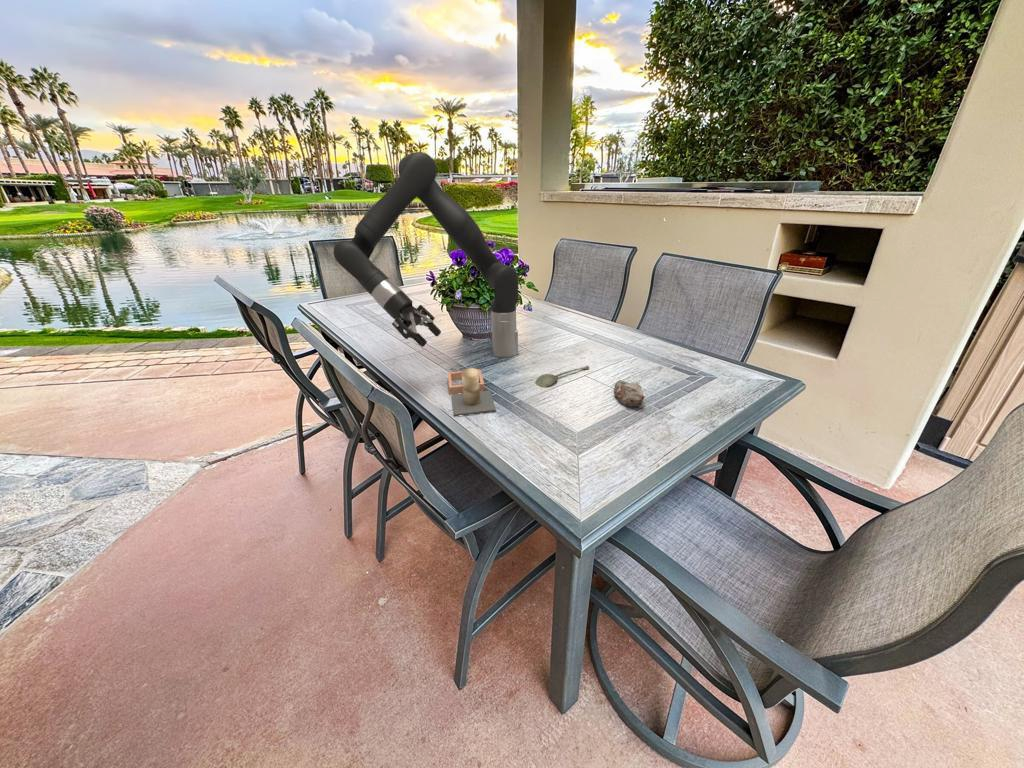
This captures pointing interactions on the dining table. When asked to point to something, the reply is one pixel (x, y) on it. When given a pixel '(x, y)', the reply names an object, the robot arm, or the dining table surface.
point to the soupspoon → (552, 378)
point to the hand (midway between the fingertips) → (432, 339)
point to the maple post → (471, 386)
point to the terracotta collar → (459, 388)
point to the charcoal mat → (483, 407)
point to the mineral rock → (629, 393)
